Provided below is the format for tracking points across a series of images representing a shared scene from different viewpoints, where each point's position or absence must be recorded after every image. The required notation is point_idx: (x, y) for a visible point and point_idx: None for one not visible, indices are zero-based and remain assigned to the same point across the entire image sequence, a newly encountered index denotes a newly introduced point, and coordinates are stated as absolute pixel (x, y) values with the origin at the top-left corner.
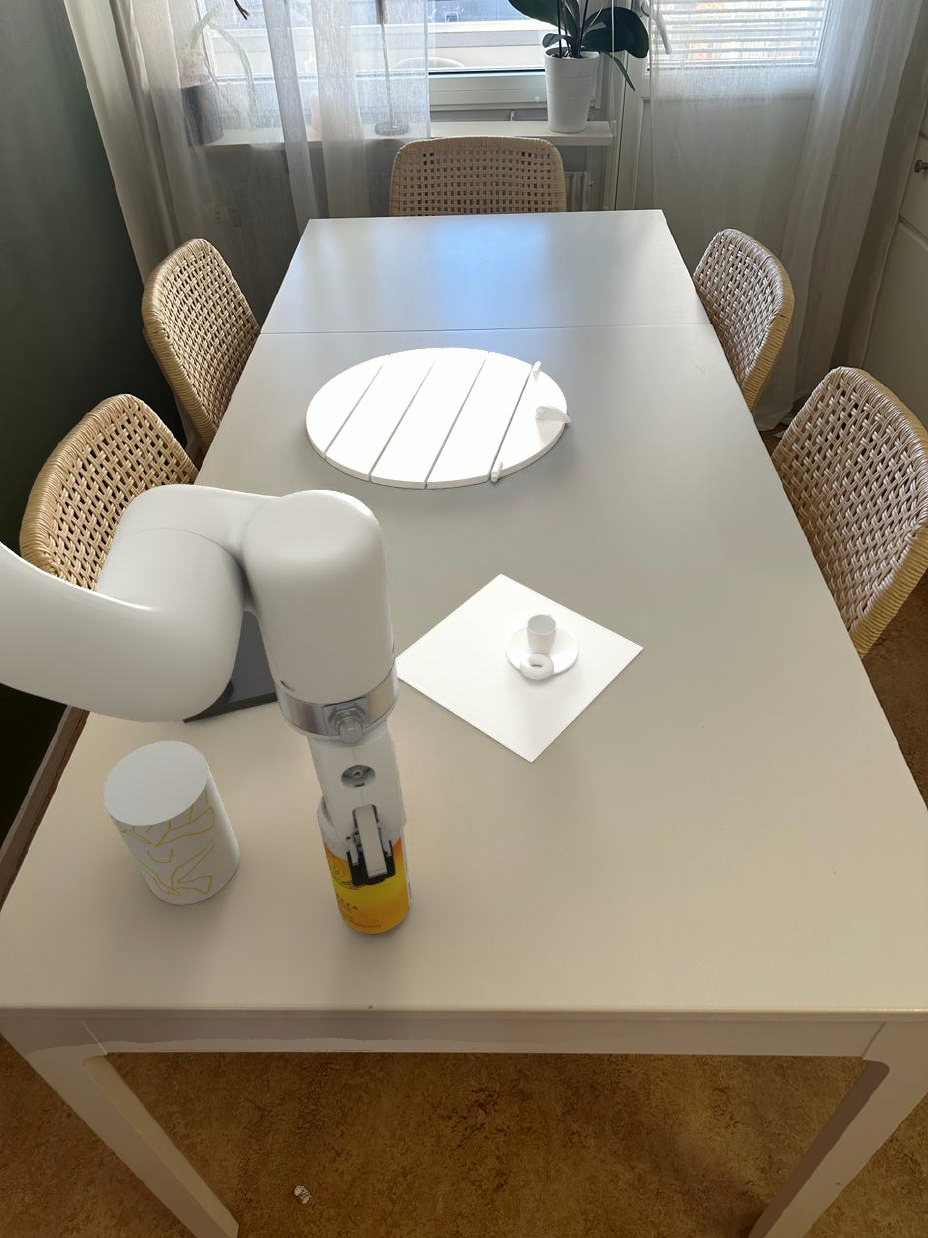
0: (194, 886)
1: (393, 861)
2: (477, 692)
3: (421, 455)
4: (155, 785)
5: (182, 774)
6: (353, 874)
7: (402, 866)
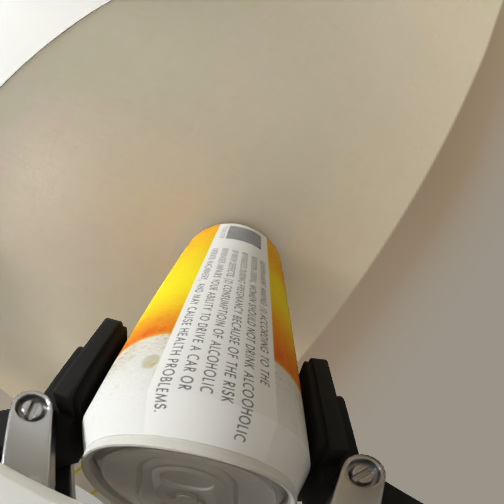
0: None
1: (336, 398)
2: (16, 32)
3: None
4: None
5: None
6: None
7: (276, 299)
